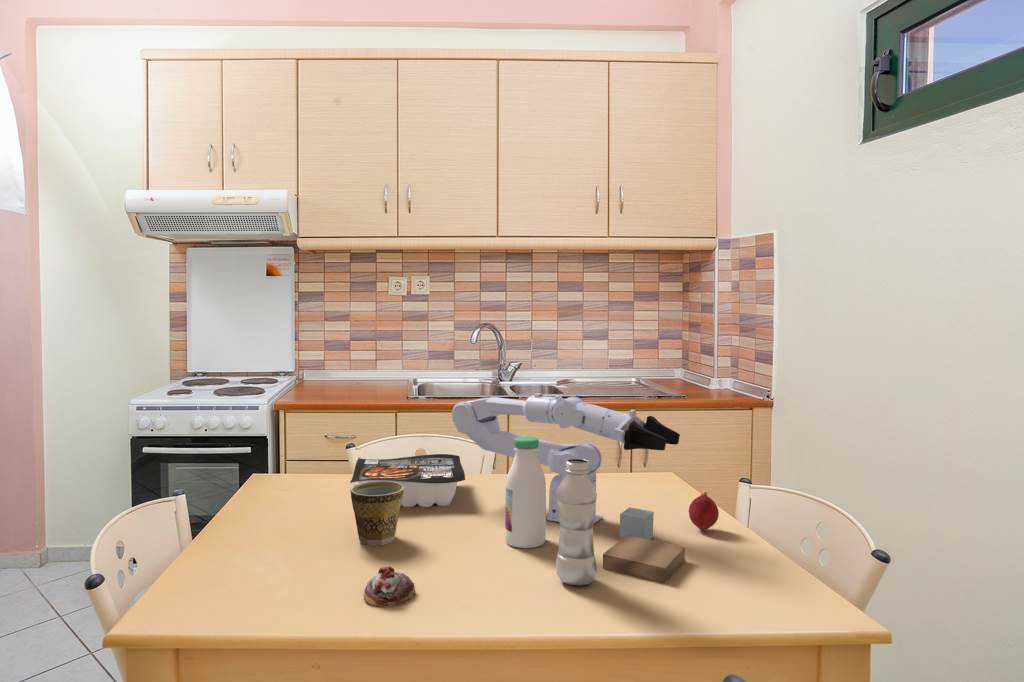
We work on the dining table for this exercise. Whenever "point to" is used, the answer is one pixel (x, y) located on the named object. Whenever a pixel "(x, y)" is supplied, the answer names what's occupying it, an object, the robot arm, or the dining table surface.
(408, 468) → the food packaging
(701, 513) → the onion
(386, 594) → the pastry
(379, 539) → the ceramic cup
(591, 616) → the dining table surface
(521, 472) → the milk bottle
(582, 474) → the plastic bottle
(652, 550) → the base
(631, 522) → the cube
